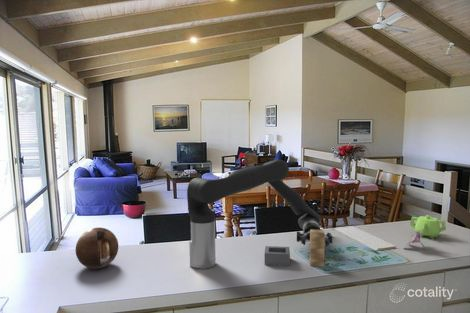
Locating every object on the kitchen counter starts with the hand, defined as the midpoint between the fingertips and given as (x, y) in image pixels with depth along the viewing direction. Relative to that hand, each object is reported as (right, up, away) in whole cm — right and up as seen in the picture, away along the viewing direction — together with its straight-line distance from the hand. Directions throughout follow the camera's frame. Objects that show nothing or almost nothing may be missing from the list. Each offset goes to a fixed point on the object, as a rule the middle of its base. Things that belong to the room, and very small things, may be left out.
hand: (315, 243), depth 140 cm
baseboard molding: (+27, -5, +27) cm, 38 cm away
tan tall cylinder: (0, -7, -3) cm, 8 cm away
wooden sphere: (-83, -8, -5) cm, 84 cm away
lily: (+45, -6, +13) cm, 48 cm away
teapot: (+59, -4, +29) cm, 66 cm away
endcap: (-15, -7, 0) cm, 17 cm away
